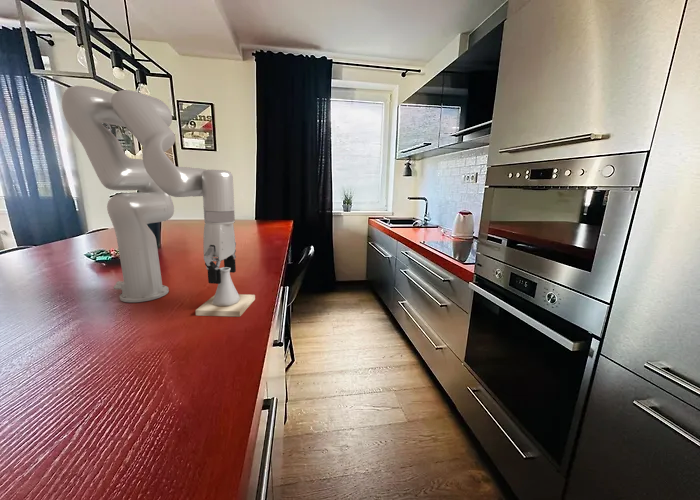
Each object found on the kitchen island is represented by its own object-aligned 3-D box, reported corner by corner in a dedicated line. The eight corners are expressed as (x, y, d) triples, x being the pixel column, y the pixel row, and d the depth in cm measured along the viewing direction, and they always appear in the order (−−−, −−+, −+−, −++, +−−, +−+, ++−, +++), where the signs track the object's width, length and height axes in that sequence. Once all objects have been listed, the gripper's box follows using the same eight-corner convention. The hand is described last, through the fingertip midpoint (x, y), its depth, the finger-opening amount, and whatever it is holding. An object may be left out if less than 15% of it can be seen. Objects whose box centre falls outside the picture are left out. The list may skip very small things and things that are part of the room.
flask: (230, 308, 80) (227, 273, 78) (207, 305, 82) (204, 271, 80) (245, 298, 87) (243, 266, 85) (223, 296, 89) (220, 264, 87)
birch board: (195, 315, 79) (195, 310, 79) (216, 298, 91) (216, 293, 90) (240, 316, 79) (239, 311, 79) (255, 299, 91) (254, 294, 90)
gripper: (220, 213, 88) (223, 267, 92) (187, 220, 71) (193, 287, 75) (245, 214, 87) (247, 269, 91) (218, 222, 71) (222, 289, 75)
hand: (222, 277), depth 83 cm, fingers open, 9 cm apart
